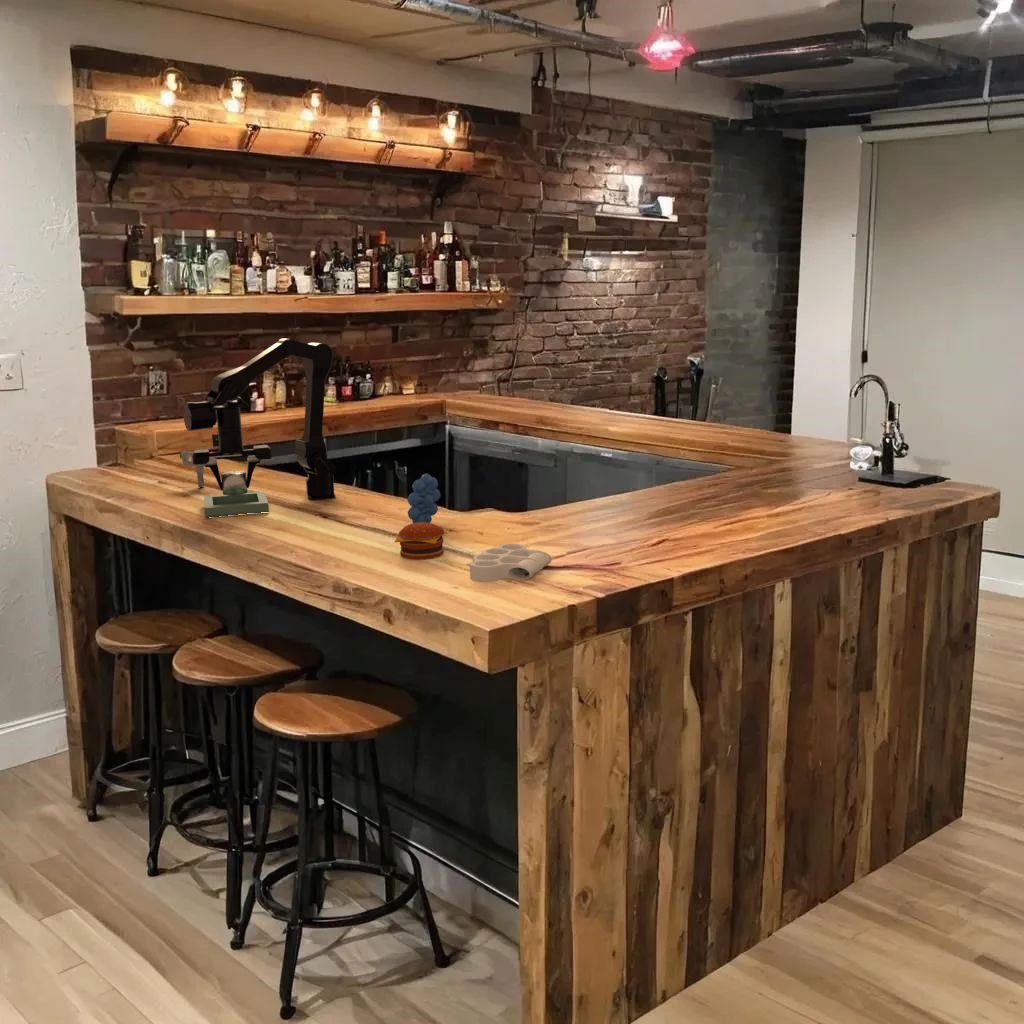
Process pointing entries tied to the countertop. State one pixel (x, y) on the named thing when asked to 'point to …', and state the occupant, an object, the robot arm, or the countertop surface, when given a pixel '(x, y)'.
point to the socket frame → (235, 504)
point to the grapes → (423, 499)
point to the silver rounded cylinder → (234, 483)
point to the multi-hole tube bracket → (507, 563)
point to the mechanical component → (189, 462)
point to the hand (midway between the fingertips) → (234, 488)
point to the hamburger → (421, 541)
